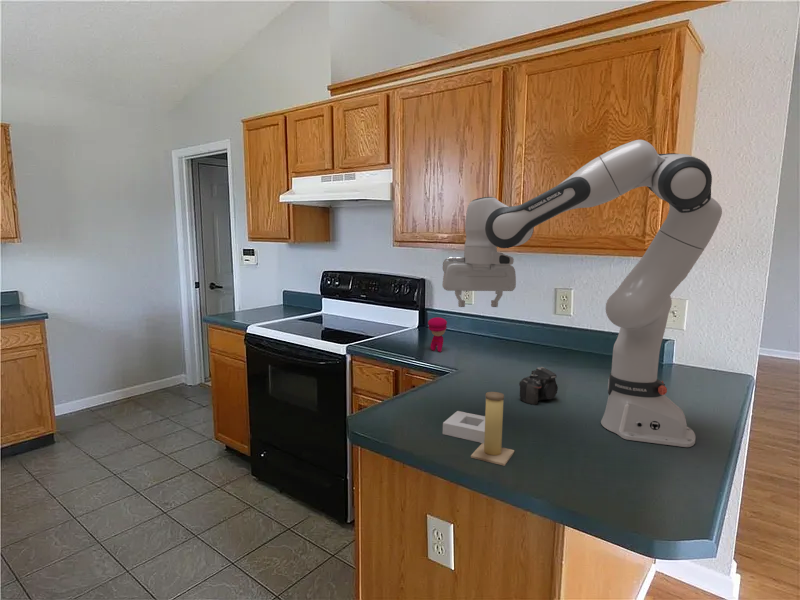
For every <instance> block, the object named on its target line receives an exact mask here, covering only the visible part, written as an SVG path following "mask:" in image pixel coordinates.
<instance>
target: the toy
mask: <svg viewBox="0 0 800 600" xmlns="http://www.w3.org/2000/svg"><path fill="white" fill-rule="evenodd" d="M427 325H428V330H429V331H431V333H432V335H434V336H432V339H431V343H430V350H431V351H433V352H434V351H436V349H437V352H439V353H441V352H442V351H443V345H444V337H443V335H444V334H445V332H446V330H447V328H448V327H447V325H448V321H447V320H446V319H445V318H443V317H439V316H438V317H432V318H430V319H428V321H427Z"/></svg>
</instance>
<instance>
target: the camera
mask: <svg viewBox="0 0 800 600" xmlns="http://www.w3.org/2000/svg"><path fill="white" fill-rule="evenodd" d="M556 378H557V374H556V373H555V372H553V371H551V370H550V369H547V368H545V367H543V366H541V367H536V369H535V370H531V374H530V375H529V376H527V377H524V378H522V379H521V380H520V381H519V383H518V384H519V398H520V401H522V402H523V403H526V404H528V405H532V404H533V405H534V406H535V405H538V402H540V401H543V400H552V399H554V398H555V397H556V395H557V394H558V389H559V388H558V387H559V386H558V384H557V380H556Z"/></svg>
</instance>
